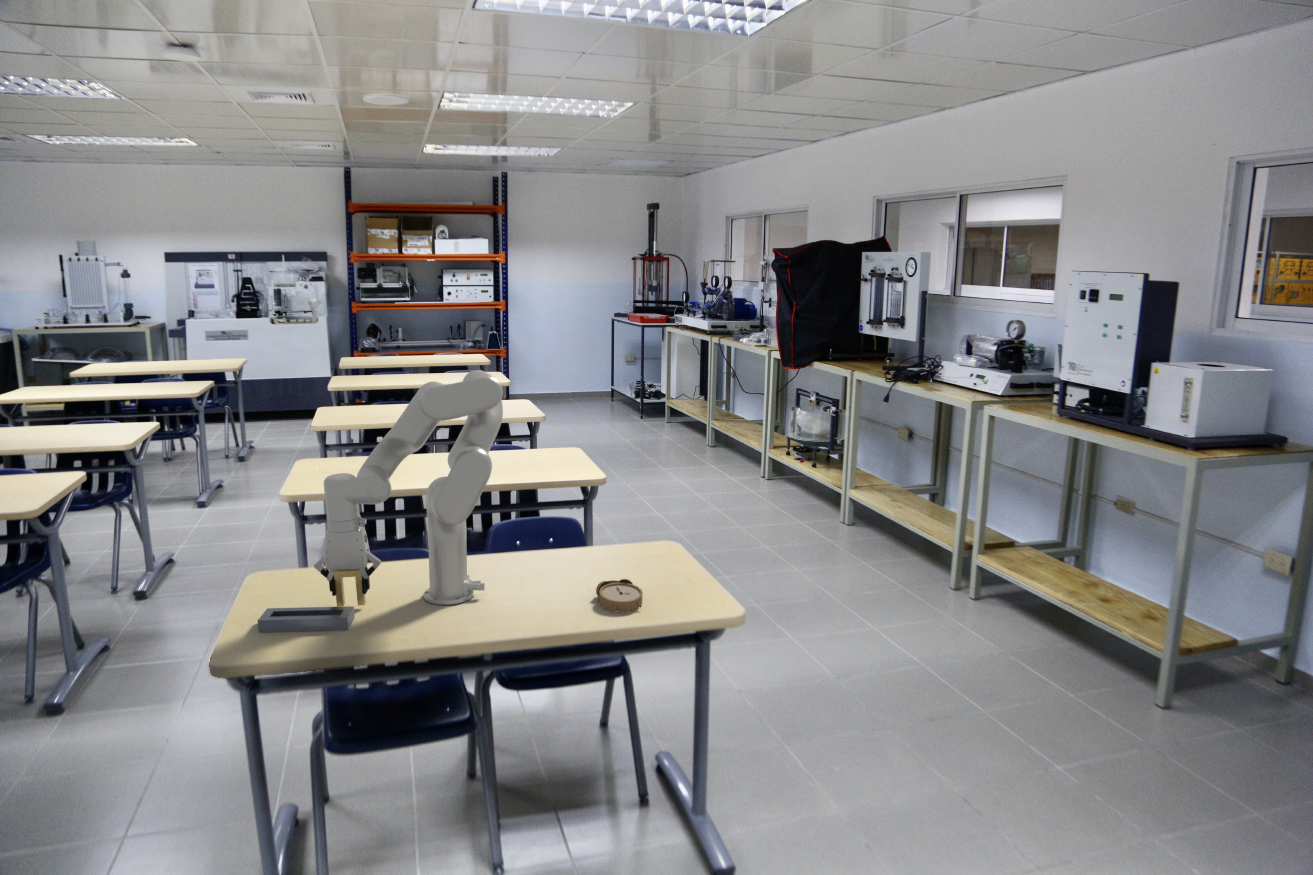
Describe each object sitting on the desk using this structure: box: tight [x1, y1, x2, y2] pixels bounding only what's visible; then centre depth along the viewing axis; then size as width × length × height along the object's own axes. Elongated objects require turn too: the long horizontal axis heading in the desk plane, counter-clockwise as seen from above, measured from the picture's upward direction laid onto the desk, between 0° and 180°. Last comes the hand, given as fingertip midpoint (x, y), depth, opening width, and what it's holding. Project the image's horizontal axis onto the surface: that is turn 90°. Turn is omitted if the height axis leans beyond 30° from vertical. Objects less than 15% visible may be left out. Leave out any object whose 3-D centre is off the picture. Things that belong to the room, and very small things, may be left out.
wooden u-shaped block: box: [334, 569, 367, 607], centre depth 210 cm, size 7×2×9 cm, turn 97°
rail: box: [257, 605, 355, 633], centre depth 201 cm, size 20×7×3 cm, turn 97°
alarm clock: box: [595, 578, 644, 613], centre depth 220 cm, size 11×5×15 cm
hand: (350, 592), depth 210 cm, fingers closed on wooden u-shaped block, 6 cm apart
